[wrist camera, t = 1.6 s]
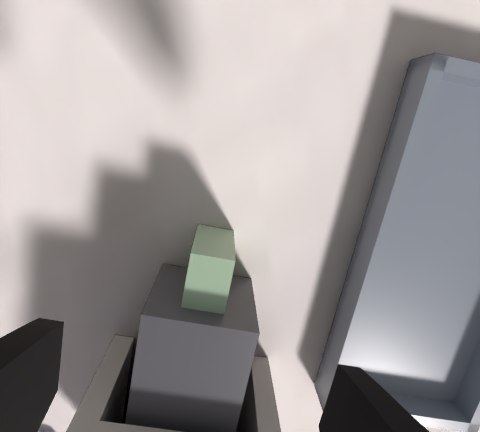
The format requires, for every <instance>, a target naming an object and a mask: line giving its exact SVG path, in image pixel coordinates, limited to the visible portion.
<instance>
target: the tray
mask: <svg viewBox="0 0 480 432" xmlns="http://www.w3.org/2000/svg"><path fill="white" fill-rule="evenodd" d="M338 364H341V365H348V366H354V367H360V368H361V369H362V370H364V371H365V372H366V373H367V374H368V375H369V376H370V377H372V378H373V379H374V380H375V381H376V382H377V383H378V384H379V385H380V386H381V387H382V388H383V389H384V390H386V391H387V392H388V393H389V394H390V395H391V396H392V397H393V398H394V399H395V400H396V401H397V402H398V403H399V404H400V405H401V406H402V407H403V408H404V409H405V410H407V411H408V412H409V413H410V414H411V415H412V416H413V417H414V418H415V419H416V420H417V421H418V422H419V423H420V424H421V425H423V426H425V427H432V428H439V429H446V430H453V431H460V432H478V430H479V427H480V63H477V62H473V61H468V60H464V59H460V58H456V57H451V56H447V55H443V54H439V53H432V54H429V55H425V56H422V57H419V58H416V59H412V60H410V64H409V67H408V70H407V74H406V77H405V81H404V84H403V87H402V91H401V94H400V97H399V101H398V104H397V108H396V111H395V114H394V118H393V121H392V124H391V128H390V131H389V135H388V138H387V141H386V145H385V148H384V151H383V155H382V158H381V162H380V165H379V168H378V172H377V175H376V178H375V182H374V185H373V189H372V192H371V195H370V199H369V202H368V205H367V209H366V212H365V216H364V219H363V222H362V226H361V229H360V232H359V236H358V239H357V243H356V246H355V249H354V253H353V256H352V259H351V263H350V266H349V270H348V273H347V276H346V280H345V283H344V286H343V290H342V293H341V297H340V300H339V303H338V307H337V310H336V314H335V317H334V320H333V324H332V327H331V330H330V334H329V337H328V341H327V344H326V347H325V351H324V354H323V357H322V361H321V364H320V368H319V371H318V374H317V378H316V381H315V384H314V386H315V389H316V392H317V395H318V398H319V401H320V404H321V407H322V410H324V407H325V404H326V401H327V398H328V394H329V391H330V388H331V385H332V382H333V378H334V375H335V372H336V369H337V365H338Z"/></svg>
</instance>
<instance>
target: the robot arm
mask: <svg viewBox="0 0 480 432" xmlns="http://www.w3.org/2000/svg"><path fill="white" fill-rule="evenodd" d="M63 325H64V322H61V321H54V320H48V319H41V318H38V319H36V320H34V321H32V322H30V323H28V324H26V325H24V326H22V327H20V328H18V329H16V330H14V331H13V332H11V333H9V334H7V335H5V336H3V337H1V338H0V432H37V431H38V429H39V427H40V425H41V423H42V421H43V419H44V417H45V415H46V413H47V411H48V409H49V407H50V405H51V403H52V401H53V399H54V397H55V394H56V392H57V390H58V380H59V369H60V358H61V347H62V336H63ZM319 431H320V432H429V431H428V430H427V429H426V428H425V427H424V426H423V425H421V424H420V423H419V422H418V421H417V420H416V419H415V418H414V417H413V416H412V415H411V414H410V413H409V412H408V411H407V410H405V409H404V408H403V407H402V406H401V405H400V404H399V403H398V402H397V401H396V400H395V399H394V398H393V397H392V396H391V395H390V394H389V393H388V392H387V391H386V390H384V389H383V388H382V387H381V386H380V385H379V384H378V383H377V382H376V381H375V380H374V379H373V378H372V377H370V376H369V375H368V374H367V373H366V372H365V371H364V370H362V369H361V368H360V367H354V366H348V365H341V364H338V365H337V369H336V372H335V375H334V378H333V382H332V385H331V388H330V391H329V394H328V398H327V401H326V404H325V407H324V410H323V414H322V417H321V420H320V423H319Z"/></svg>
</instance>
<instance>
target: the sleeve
mask: <svg viewBox="0 0 480 432" xmlns="http://www.w3.org/2000/svg"><path fill="white" fill-rule="evenodd" d="M133 341H134V338H133V337H126V336H120V335H115V336H114V338H113V340H112V342H111V344H110V346H109V348H108V350H107V352H106V354H105V356H104V358H103V360H102V362H101V364H100V366H99V368H98V370H97V372H96V374H95V376H94V378H93V380H92V382H91V384H90V386H89V388H88V390H87V391H86V393H85V395H84V397H83V399H82V401H81V403H80V405H79V407H78V409H77V411H76V413H75V415H74V417H73V419H72V421H71V423H70V425H69V427H68V429H67V431H66V432H182V431H174V430H166V429H159V428H151V427H143V426H136V425H128V424H122V417H123V410H124V403H125V396H126V389H127V383H128V376H129V369H130V362H131V355H132V348H133ZM236 432H281V429H280V423H279V418H278V412H277V406H276V400H275V395H274V389H273V383H272V378H271V372H270V366H269V361H268V358H265V357H258V356H254V358H253V362H252V367H251V371H250V375H249V379H248V383H247V387H246V391H245V395H244V400H243V404H242V408H241V412H240V416H239V420H238V424H237V428H236Z"/></svg>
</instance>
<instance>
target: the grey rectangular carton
mask: <svg viewBox="0 0 480 432" xmlns="http://www.w3.org/2000/svg"><path fill="white" fill-rule="evenodd" d="M235 261H236V259H235V244H234V231H233V230H228V229H222V228H217V227H211V226H206V225H200V224H198V226H197V230H196V234H195V238H194V242H193V246H192V249H191V253H190V259H189V265H188V268H186V267H180V266H174V265H168V264H163V265H162V267H161V269H160V272H159V274H158V276H157V279H156V281H155V283H154V286H153V288H152V290H151V293H150V295H149V297H148V300H147V302H146V304H145V307H144V309H143V311H142V314H141V318H140V325H139V332H138V339H137V346H136V352H135V359H134V366H133V373H132V380H131V386H130V393H129V400H128V407H127V414H126V420H125V424H128V425H136V426H143V427H151V428H159V429H166V430H174V431H182V432H236V428H237V424H238V420H239V416H240V412H241V408H242V404H243V400H244V395H245V391H246V387H247V383H248V379H249V375H250V371H251V367H252V362H253V358H254V354H255V350H256V346H257V342H258V338H259V334H260V333H259V327H258V320H257V314H256V307H255V301H254V294H253V287H252V281H251V278H245V277H239V276H233V271H234V266H235Z"/></svg>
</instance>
